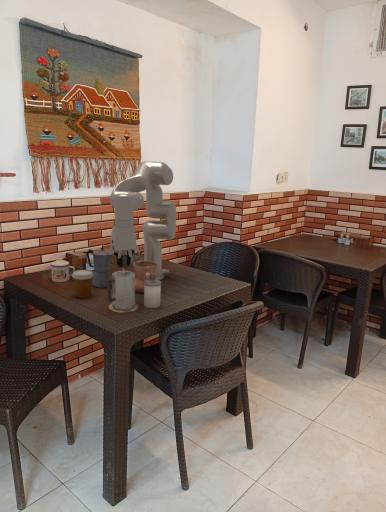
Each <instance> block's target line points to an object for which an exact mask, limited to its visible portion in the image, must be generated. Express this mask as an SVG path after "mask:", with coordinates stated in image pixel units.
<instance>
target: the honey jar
mask: <svg viewBox="0 0 386 512" xmlns="http://www.w3.org/2000/svg"><path fill="white" fill-rule="evenodd" d="M72 273H73V275H71V277H72V278H73V284H74V291H75V297H76V298H78V299H84V298H85V299H86V298H89V297H91V293H92V287H93V285H92V282H93V276H94V272H93V271H92V270H89V269H77V270H75V271H74V270H73V272H72Z"/></svg>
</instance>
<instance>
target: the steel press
mask: <svg viewBox="0 0 386 512" xmlns="http://www.w3.org/2000/svg"><path fill="white" fill-rule="evenodd" d="M122 274H123V270H118V271H114V272H113V273H112V274H111V279H109V280H107V287H106V288H107V302H108V303H111V304H112V308H113V309H115V310H119V311H127V310H131V309H133V308H134V307H135V303H136V297H135V296H136V291H135V279H136V273H135V272H134V271H130V270H125V275H122Z"/></svg>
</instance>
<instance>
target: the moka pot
mask: <svg viewBox="0 0 386 512" xmlns="http://www.w3.org/2000/svg"><path fill="white" fill-rule="evenodd" d="M104 249H105V247H104V246H103V247H100V249H99V250H94V249H88V250H87V251H86V254H85V255H86V258H87V262H88V266H89V268H93V269H94V272H93V274H94V275H93V277H92V287H95V288H107V280H110V264H111V261H112V260H113V257H115V255H114V254H112V253H110V252H109V250H104ZM90 254H91V255H92V260H93V265H92V263H91V258H90Z"/></svg>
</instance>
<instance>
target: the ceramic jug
mask: <svg viewBox="0 0 386 512" xmlns="http://www.w3.org/2000/svg"><path fill="white" fill-rule="evenodd" d="M133 269H134V273H135V293H141V294H144V281H145V280H150V273H156V272H157V269H158V263H156V262H153V261H146V260H144V259H142V260H137V261H134V264H133Z"/></svg>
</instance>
